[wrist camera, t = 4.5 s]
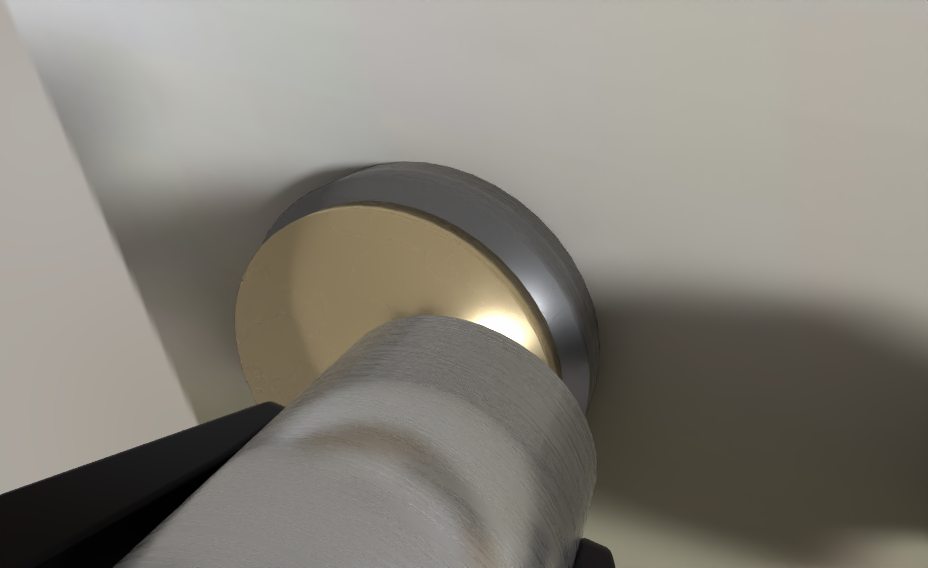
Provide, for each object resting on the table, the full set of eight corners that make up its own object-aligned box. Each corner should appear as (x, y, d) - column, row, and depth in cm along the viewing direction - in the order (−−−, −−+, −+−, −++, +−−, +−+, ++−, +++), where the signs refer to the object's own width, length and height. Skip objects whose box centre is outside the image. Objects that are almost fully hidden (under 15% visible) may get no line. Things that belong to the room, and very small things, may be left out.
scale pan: (605, 261, 15) (599, 276, 14) (524, 550, 20) (516, 573, 20) (250, 160, 18) (227, 168, 17) (258, 434, 23) (240, 450, 23)
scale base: (646, 217, 17) (584, 384, 9) (531, 595, 25) (447, 851, 17) (285, 124, 20) (23, 190, 13) (285, 484, 28) (124, 657, 21)
